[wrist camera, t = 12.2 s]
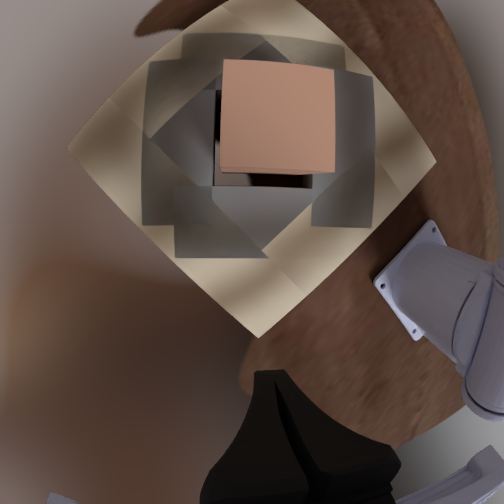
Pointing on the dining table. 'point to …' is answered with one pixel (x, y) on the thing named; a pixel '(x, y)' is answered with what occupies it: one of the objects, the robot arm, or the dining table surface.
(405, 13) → the dining table surface
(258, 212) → the socket board
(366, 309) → the dining table surface
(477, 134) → the dining table surface
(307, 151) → the peg
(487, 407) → the robot arm
